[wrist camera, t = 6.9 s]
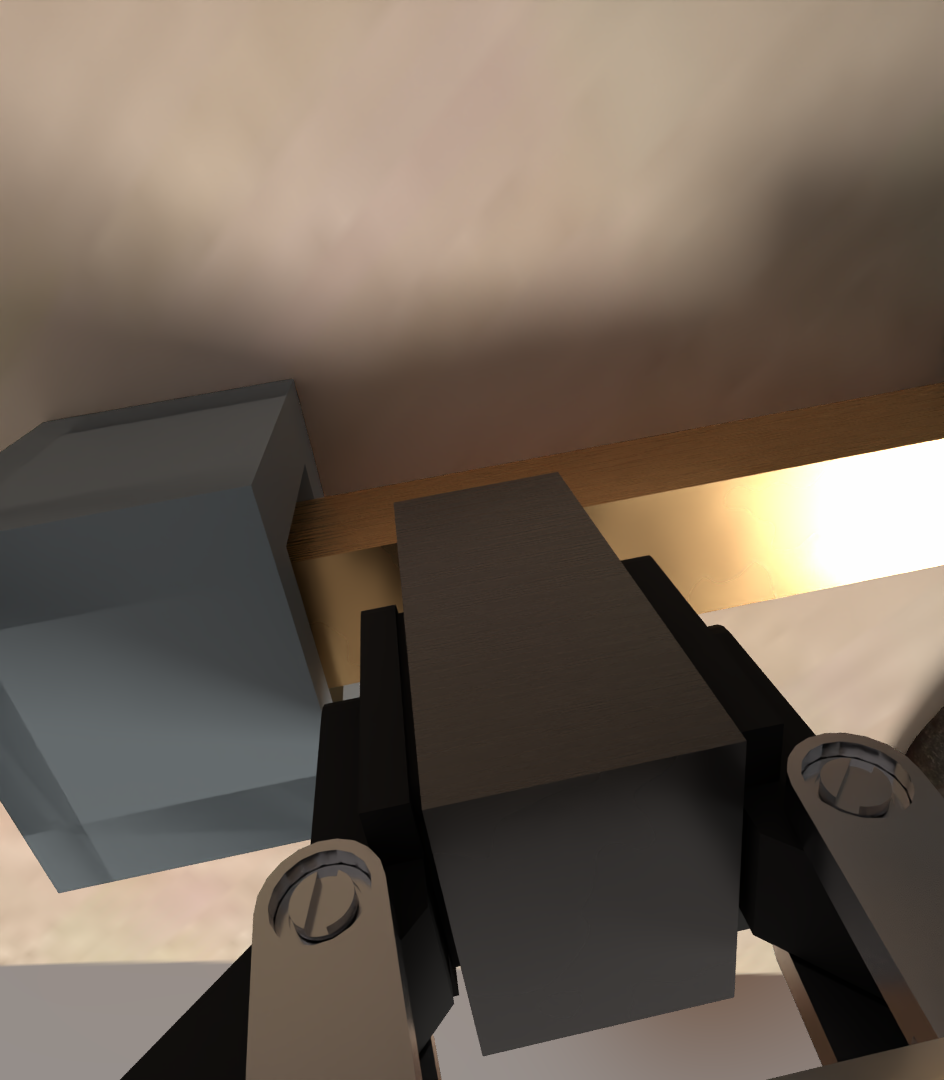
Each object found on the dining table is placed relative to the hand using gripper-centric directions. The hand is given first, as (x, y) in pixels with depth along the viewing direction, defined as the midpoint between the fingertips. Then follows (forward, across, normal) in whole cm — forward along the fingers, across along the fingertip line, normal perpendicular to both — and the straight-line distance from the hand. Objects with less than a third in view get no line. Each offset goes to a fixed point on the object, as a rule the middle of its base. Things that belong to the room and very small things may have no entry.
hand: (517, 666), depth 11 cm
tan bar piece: (+5, -4, 0) cm, 7 cm away
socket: (+7, +6, 0) cm, 9 cm away
